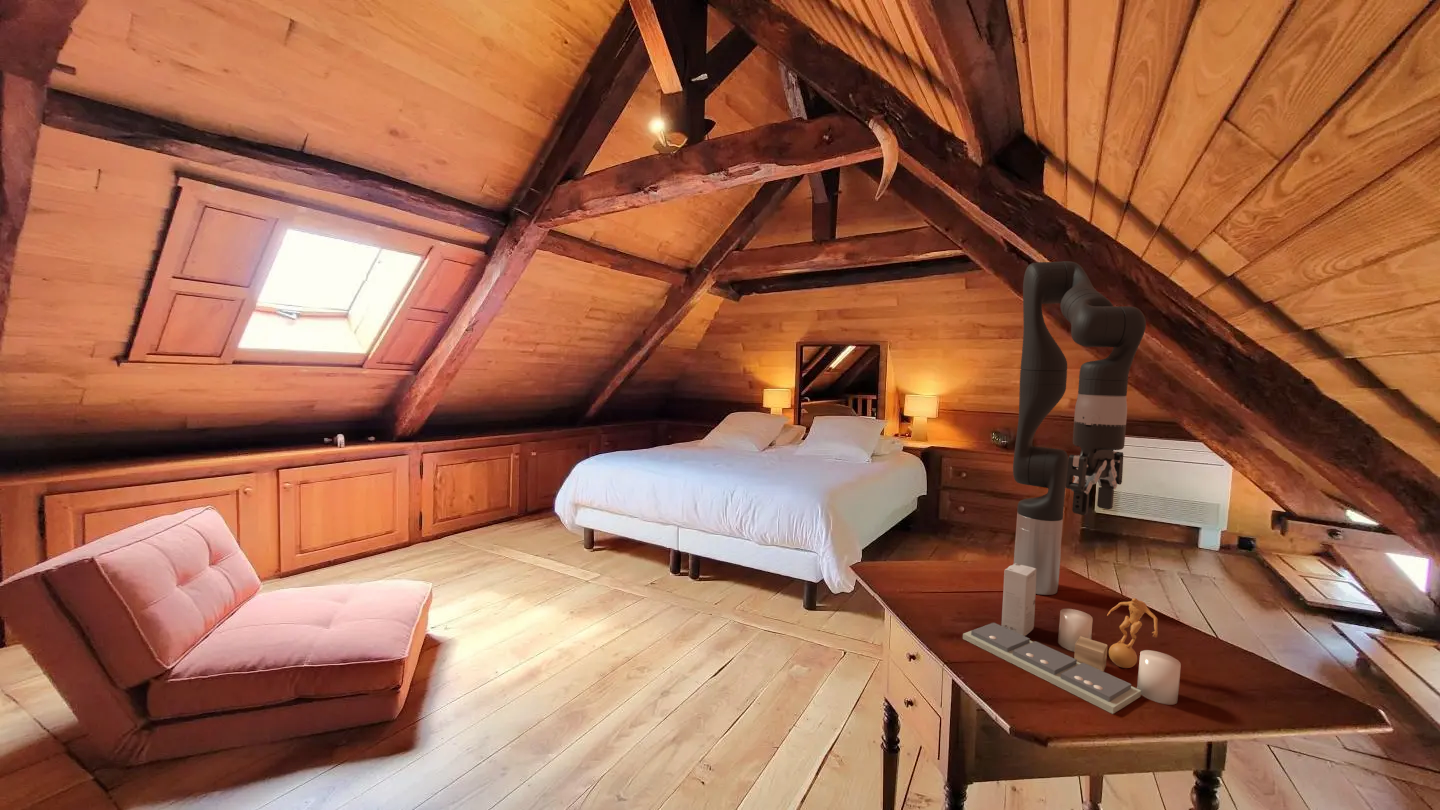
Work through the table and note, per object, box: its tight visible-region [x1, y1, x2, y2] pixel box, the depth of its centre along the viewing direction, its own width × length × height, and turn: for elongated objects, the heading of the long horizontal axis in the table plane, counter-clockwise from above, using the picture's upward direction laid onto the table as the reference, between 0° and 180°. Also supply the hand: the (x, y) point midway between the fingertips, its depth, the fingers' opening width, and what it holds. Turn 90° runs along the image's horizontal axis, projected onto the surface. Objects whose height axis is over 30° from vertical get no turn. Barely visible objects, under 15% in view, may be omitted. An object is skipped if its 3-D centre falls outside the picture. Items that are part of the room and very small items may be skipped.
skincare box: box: [1001, 563, 1037, 637], centre depth 106 cm, size 6×4×12 cm
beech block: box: [1073, 636, 1108, 672], centre depth 94 cm, size 4×4×4 cm
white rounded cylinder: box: [1057, 608, 1093, 653], centre depth 100 cm, size 5×5×6 cm
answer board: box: [962, 622, 1142, 715], centre depth 93 cm, size 9×25×2 cm, turn 31°
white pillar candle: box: [1136, 649, 1182, 706], centre depth 86 cm, size 5×5×6 cm
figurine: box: [1106, 597, 1159, 669], centre depth 94 cm, size 8×6×12 cm
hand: (1092, 511), depth 96 cm, fingers open, 8 cm apart
